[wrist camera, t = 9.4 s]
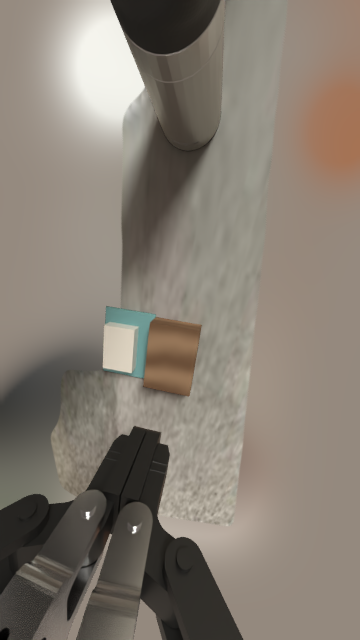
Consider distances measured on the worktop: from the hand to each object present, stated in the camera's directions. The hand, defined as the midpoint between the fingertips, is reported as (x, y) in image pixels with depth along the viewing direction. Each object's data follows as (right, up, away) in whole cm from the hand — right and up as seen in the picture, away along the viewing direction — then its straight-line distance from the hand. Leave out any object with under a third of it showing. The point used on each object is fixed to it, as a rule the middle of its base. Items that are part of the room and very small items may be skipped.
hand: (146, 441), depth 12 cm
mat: (-9, +2, +34) cm, 35 cm away
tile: (-10, +1, +31) cm, 33 cm away
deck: (+1, 0, +32) cm, 33 cm away
